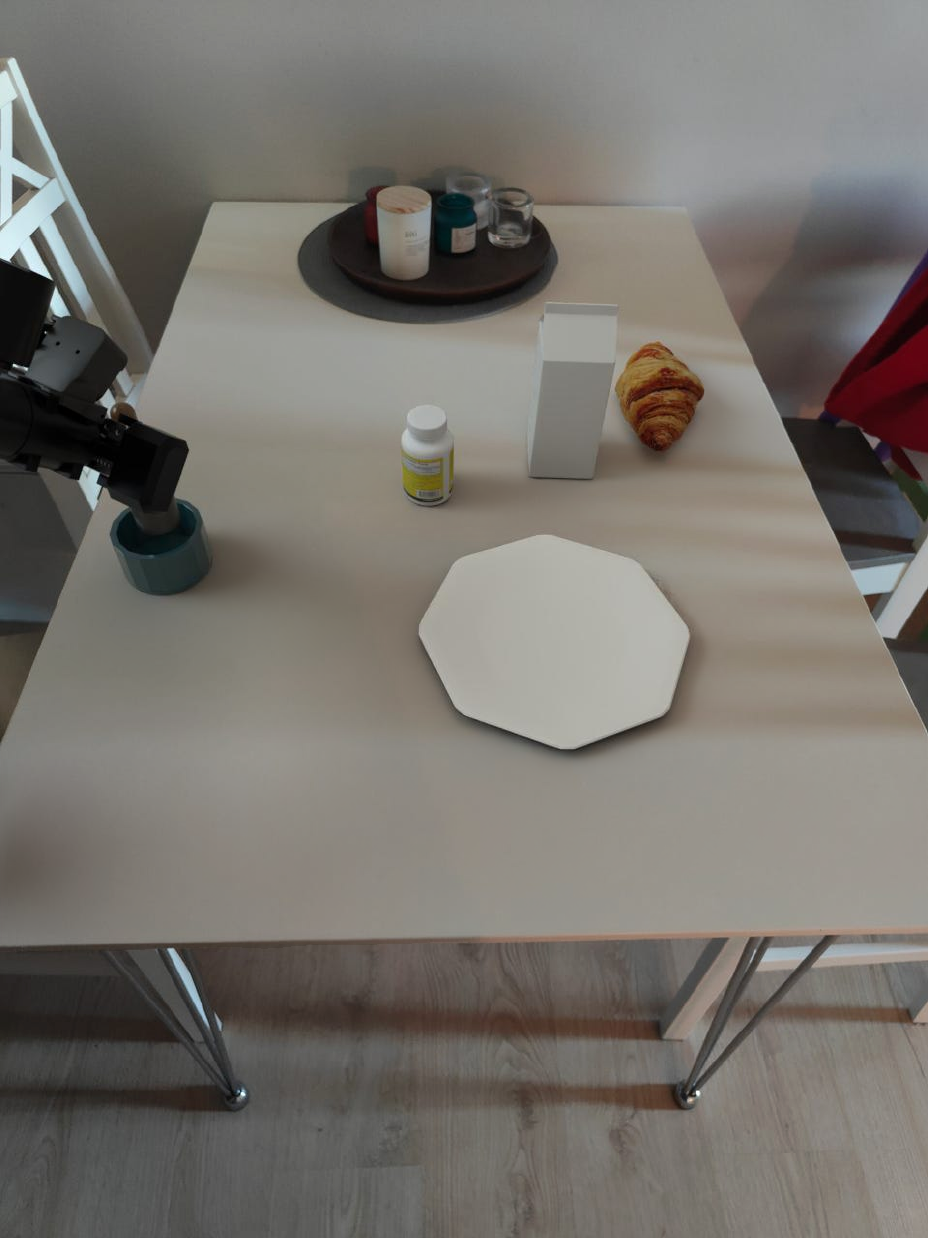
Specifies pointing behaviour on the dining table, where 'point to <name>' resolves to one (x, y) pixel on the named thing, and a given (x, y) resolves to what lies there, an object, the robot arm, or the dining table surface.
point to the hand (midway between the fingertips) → (150, 455)
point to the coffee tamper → (143, 521)
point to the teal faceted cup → (163, 552)
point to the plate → (555, 641)
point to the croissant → (658, 395)
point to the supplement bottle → (427, 456)
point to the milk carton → (570, 388)
